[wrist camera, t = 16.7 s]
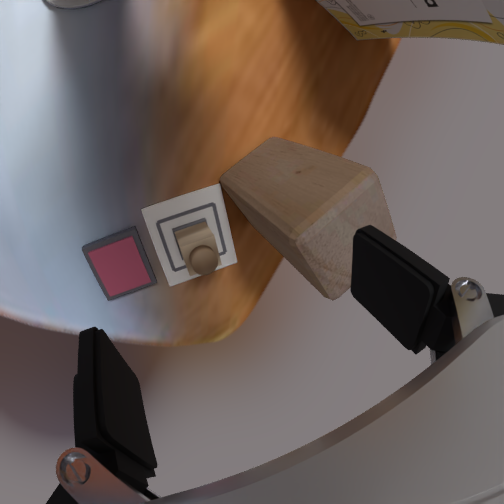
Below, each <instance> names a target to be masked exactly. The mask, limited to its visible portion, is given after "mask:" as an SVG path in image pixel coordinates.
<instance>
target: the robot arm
mask: <svg viewBox="0 0 504 504" xmlns="http://www.w3.org/2000/svg"><path fill="white" fill-rule="evenodd" d="M46 1H47V2H48V3H50V4H51V5H53V6H56V7H59V8H65V9H75V8H81V7H86V6H89V5H92V4H95V3H97V2H99V1H102V0H90V1H89V0H46ZM449 279H450V278H448V277H447V276H446V275H444V274H443V273H441V272H440V271H439V270H438V269H436V268H435V267H433V266H432V265H431V264H429V263H427V262H426V261H425V260H423V259H422V258H420V257H419V256H418V255H416V254H415V253H413V252H412V251H410V250H409V249H407V248H406V247H404V246H403V245H401V244H400V243H398V242H397V241H395V240H394V239H392V238H391V237H389V236H388V235H386V234H385V233H383V232H382V231H380V230H379V229H377V228H375V227H374V226H372V225H367V226H365V227H362V228H360V229H358V230H356V232H355V235H354V236H353V252H352V273H351V293H352V295H353V297H354V298H355V299H356V300H357V301H358V302H359V303H360V304H362V306H364V307H365V308H366V309H367V310H368V311H369V312H370V313H371V314H372V315H373V316H374V317H375V318H376V319H377V320H378V321H379V322H380V323H381V324H382V325H383V326H384V327H385V328H386V329H387V330H388V331H389V332H390V333H391V334H392V335H393V336H394V337H395V338H396V339H397V340H398V341H399V342H400V343H401V344H402V345H403V346H404V347H405V348H407V349H408V350H412V351H413V352H414V353H415V354H417V353H419V352H420V351H421V350H423V349H424V348H425V347H426V345H427V346H428V347H429V348H430V355H431V366H429V367H428V368H427V369H425V370H424V371H423V372H422V373H420V374H419V375H418V376H416V377H415V378H414V379H412V380H411V381H410V382H408V383H407V384H406V385H404V386H403V387H401V388H400V389H399V390H397V391H396V392H394V393H393V394H391V395H390V396H388V397H387V398H386V399H384V400H383V401H381V402H380V403H378V404H377V405H375V406H373V407H372V408H370V409H369V410H367V411H365V412H364V413H362V414H361V415H359V416H357V417H356V418H354V419H353V420H351V421H349V422H347V423H346V424H344V425H342V426H340V427H338V428H337V429H335V430H333V431H331V432H329V433H328V434H326V435H324V436H322V437H320V438H318V439H316V440H314V441H312V442H310V443H308V444H307V445H305V446H302V447H301V448H298V449H296V450H294V451H292V452H290V453H288V454H285V455H283V456H281V457H279V458H277V459H274V460H272V461H269V462H267V463H264V464H262V465H260V466H257V467H255V468H252V469H249V470H247V471H244V472H241V473H239V474H236V475H233V476H230V477H227V478H224V479H222V480H219V481H216V482H213V483H210V484H207V485H203V486H200V487H197V488H194V489H190V490H187V491H183V492H180V493H175V494H172V495H169V496H165V497H160V496H159V495H157V494H156V493H154V492H153V491H152V490H150V489H149V488H147V487H148V483H147V479H146V478H150V477H154V476H156V475H155V471H154V468H157V461H156V458H155V454H154V450H153V446H152V442H151V438H150V433H149V429H148V425H147V420H146V416H145V411H144V406H143V400H142V395H141V390H140V385H139V381H138V379H137V377H136V375H135V374H134V372H133V371H132V370H131V368H130V367H129V366H128V365H127V363H126V362H125V360H124V359H123V358H122V356H121V355H120V353H119V352H118V351H117V349H116V348H115V346H114V345H113V343H112V342H111V340H110V339H109V337H108V336H107V334H106V333H105V331H104V330H103V329H100V330H98V328H96V327H92V328H89V329H87V330H84V331H81V332H80V334H79V349H78V374H76V375H75V377H74V384H73V385H74V386H73V391H74V392H73V403H74V404H73V405H74V433H75V448H70V449H67V450H65V451H64V452H63V453H62V454H61V455H60V457H59V458H58V460H57V464H56V474H57V478H58V480H59V482H60V484H59V485H58V487H57V488H56V490H55V491H54V492H53V494H52V495H51V497H50V498H49V500H48V501H47V503H46V504H504V295H500V294H489V293H486V292H485V290H484V288H483V286H482V285H481V284H480V283H479V282H477V281H476V280H474V279H471V278H467V277H461V278H457V279H455V280H454V281H453V283H452V285H451V286H450V285H449V284H448V282H449Z"/></svg>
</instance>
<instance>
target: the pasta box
mask: <svg viewBox="0 0 504 504" xmlns="http://www.w3.org/2000/svg"><path fill="white" fill-rule="evenodd" d="M316 1H317V2H318V3H319V4H320V5H321V6H323V7H324V8H325V9H326V10H327V11H328V12H329V13H330V14H331V15H332V16H333V17H334V18H335V19H337V20H338V21H339V22H340V23H341V24H342V25H343V26H344V27H345V28H346V29H347V30H348V31H349V32H350V33H351V34H352V35H353V37H354V38H355V39H356V40H368V39H382V38H408V37H409V38H411V37H412V38H415V37H416V38H417V37H418V38H448V39H462V40H472V41H481V42H489V43H496V44H502V45H504V0H316Z"/></svg>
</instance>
